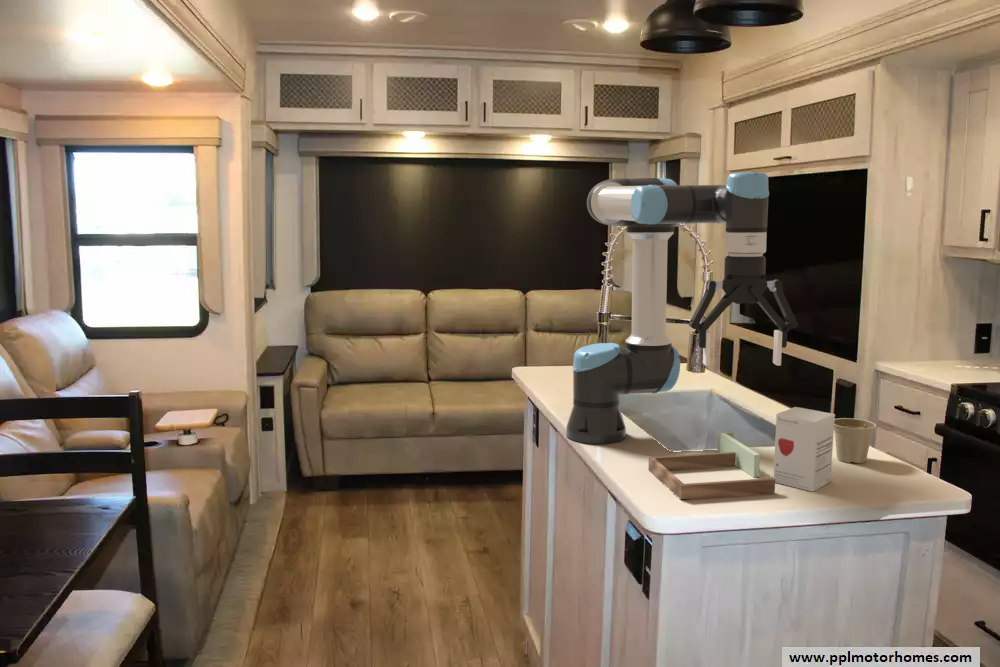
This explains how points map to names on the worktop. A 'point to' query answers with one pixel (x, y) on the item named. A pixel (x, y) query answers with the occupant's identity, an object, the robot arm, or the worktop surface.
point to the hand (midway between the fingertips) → (741, 364)
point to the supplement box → (803, 448)
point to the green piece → (739, 453)
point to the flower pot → (853, 439)
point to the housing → (707, 489)
